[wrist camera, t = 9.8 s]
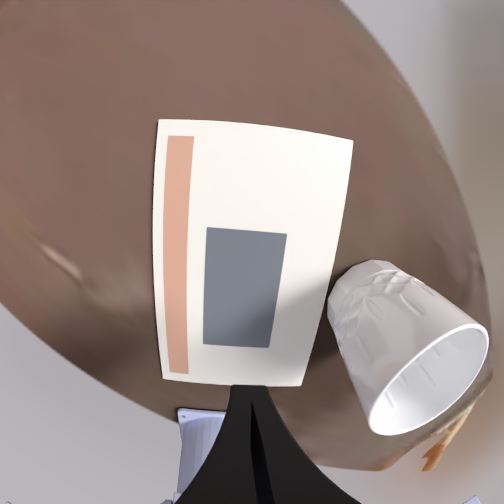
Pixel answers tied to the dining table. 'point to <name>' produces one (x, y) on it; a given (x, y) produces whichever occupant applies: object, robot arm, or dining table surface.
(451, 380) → the white cup
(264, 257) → the menu card
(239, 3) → the dining table surface
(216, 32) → the dining table surface
